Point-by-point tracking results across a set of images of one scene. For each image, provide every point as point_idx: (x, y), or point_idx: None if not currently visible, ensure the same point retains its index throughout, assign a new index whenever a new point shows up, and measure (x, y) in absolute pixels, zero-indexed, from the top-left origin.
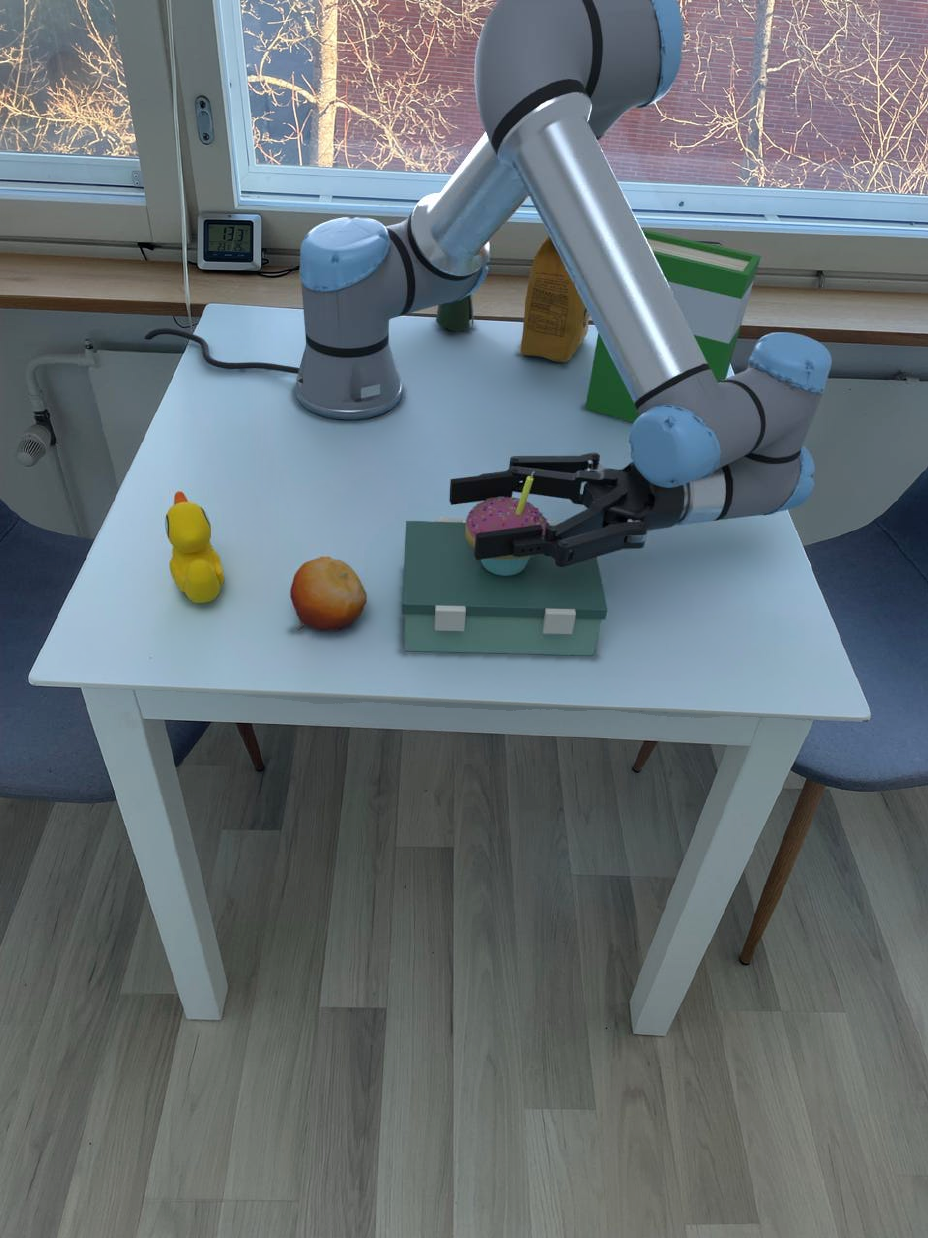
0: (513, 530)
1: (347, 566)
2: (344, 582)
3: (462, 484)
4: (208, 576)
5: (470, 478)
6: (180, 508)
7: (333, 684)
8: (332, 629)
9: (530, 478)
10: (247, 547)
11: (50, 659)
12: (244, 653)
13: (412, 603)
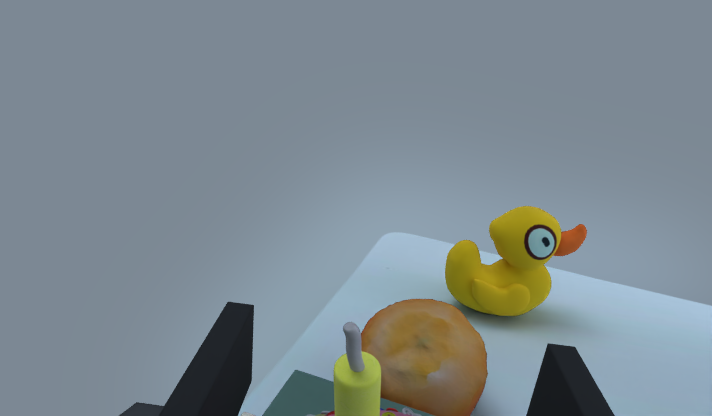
0: (191, 396)
1: (450, 357)
2: (407, 343)
3: (556, 378)
4: (454, 256)
5: (594, 400)
6: (532, 207)
7: (272, 372)
8: None
9: (349, 363)
10: (584, 360)
11: (405, 233)
12: (369, 317)
13: (288, 382)
